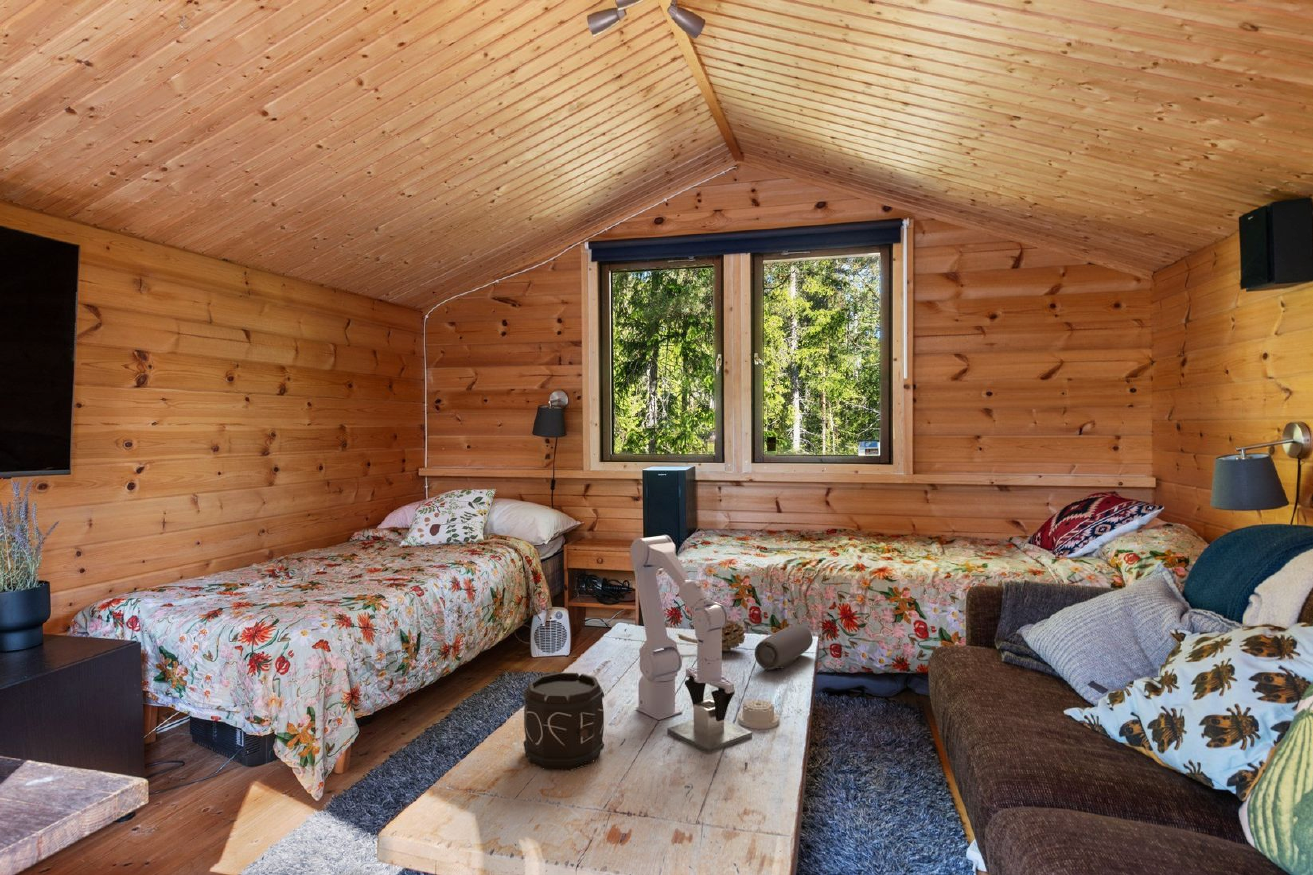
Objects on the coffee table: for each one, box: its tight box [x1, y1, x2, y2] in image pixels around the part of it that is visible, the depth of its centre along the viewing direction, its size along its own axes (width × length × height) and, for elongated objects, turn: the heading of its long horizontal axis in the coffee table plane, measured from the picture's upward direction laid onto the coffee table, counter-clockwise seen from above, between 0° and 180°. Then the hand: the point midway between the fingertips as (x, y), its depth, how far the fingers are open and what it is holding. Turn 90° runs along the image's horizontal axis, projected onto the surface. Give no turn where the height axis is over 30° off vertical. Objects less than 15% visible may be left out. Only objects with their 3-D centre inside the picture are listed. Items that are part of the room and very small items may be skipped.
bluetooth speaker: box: [754, 623, 814, 670], centre depth 231 cm, size 23×9×10 cm, turn 144°
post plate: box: [666, 719, 753, 754], centre depth 178 cm, size 14×14×4 cm
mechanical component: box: [737, 698, 780, 730], centre depth 187 cm, size 10×4×10 cm
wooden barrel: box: [522, 672, 605, 771], centre depth 167 cm, size 18×18×16 cm
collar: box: [693, 699, 725, 736], centre depth 178 cm, size 5×5×6 cm
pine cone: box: [676, 619, 746, 652], centre depth 242 cm, size 22×10×10 cm, turn 98°
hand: (709, 714), depth 178 cm, fingers open, 7 cm apart
